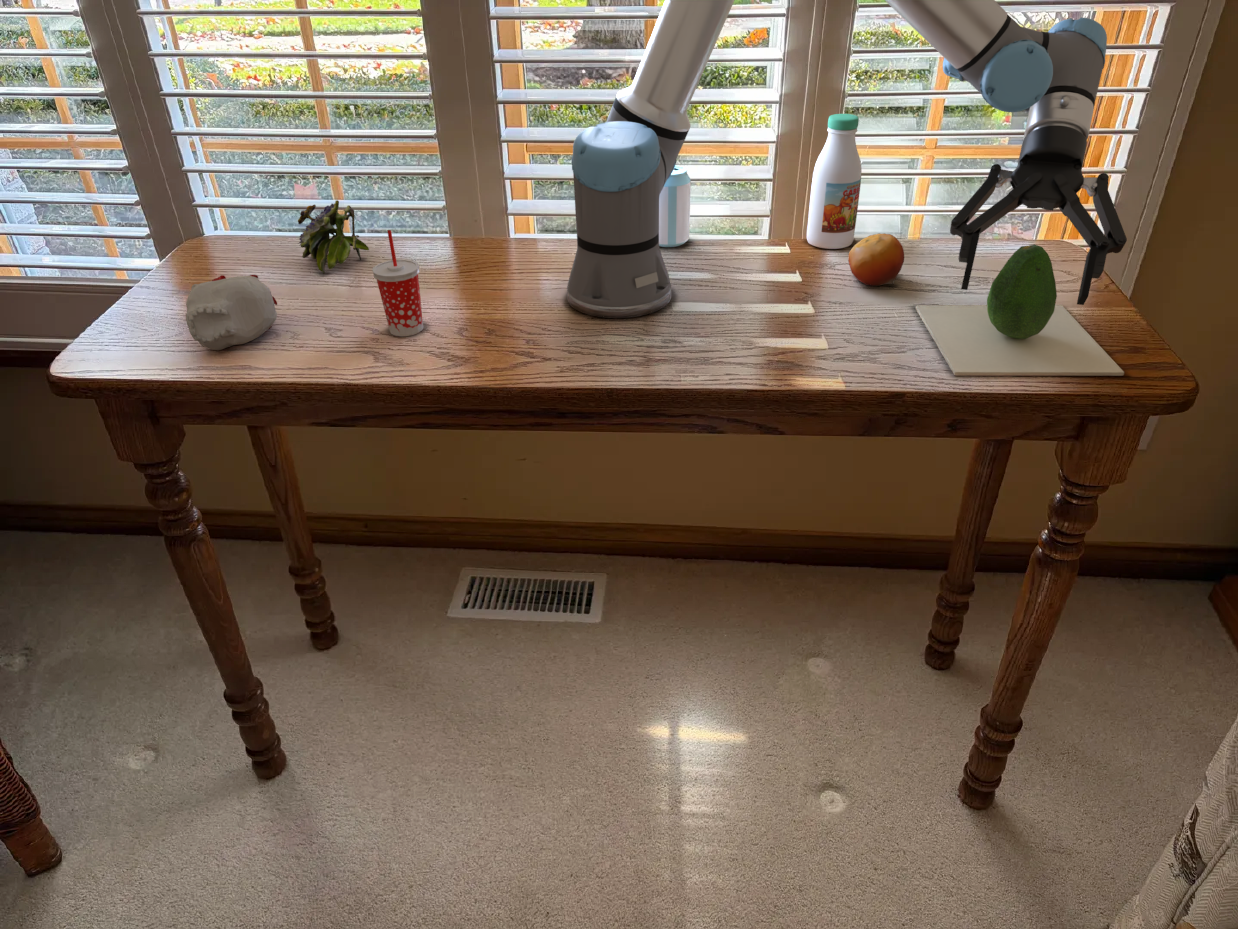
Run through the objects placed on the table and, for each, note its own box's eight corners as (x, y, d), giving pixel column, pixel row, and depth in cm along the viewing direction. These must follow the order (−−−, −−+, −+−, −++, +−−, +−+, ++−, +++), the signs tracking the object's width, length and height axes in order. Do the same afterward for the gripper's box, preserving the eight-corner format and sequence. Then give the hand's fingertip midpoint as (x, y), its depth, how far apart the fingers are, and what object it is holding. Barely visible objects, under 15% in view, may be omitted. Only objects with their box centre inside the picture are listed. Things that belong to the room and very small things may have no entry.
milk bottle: (801, 247, 143) (813, 120, 132) (811, 232, 149) (823, 109, 137) (848, 252, 140) (865, 123, 129) (856, 236, 146) (873, 112, 135)
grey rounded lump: (198, 363, 111) (199, 331, 124) (288, 345, 115) (281, 316, 127) (175, 295, 107) (179, 269, 120) (270, 279, 111) (264, 255, 123)
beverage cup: (428, 336, 118) (412, 236, 110) (382, 340, 117) (363, 240, 109) (429, 317, 123) (413, 220, 115) (385, 321, 122) (366, 224, 114)
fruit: (917, 282, 125) (894, 235, 122) (865, 306, 129) (842, 261, 126) (912, 262, 132) (891, 217, 129) (863, 285, 135) (841, 241, 132)
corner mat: (954, 375, 105) (955, 372, 105) (915, 308, 122) (915, 305, 121) (1123, 375, 104) (1124, 372, 104) (1060, 307, 120) (1061, 304, 120)
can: (645, 235, 149) (645, 164, 142) (686, 233, 150) (687, 162, 143) (650, 249, 143) (649, 176, 137) (692, 247, 144) (693, 174, 137)
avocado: (1016, 319, 117) (1039, 232, 110) (1058, 343, 110) (1084, 252, 104) (966, 328, 115) (986, 240, 108) (1006, 353, 108) (1029, 261, 102)
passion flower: (324, 289, 146) (312, 220, 147) (385, 276, 145) (372, 206, 146) (292, 274, 135) (279, 199, 135) (357, 260, 134) (344, 185, 134)
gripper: (955, 115, 111) (920, 266, 108) (1174, 129, 103) (1143, 294, 100) (951, 147, 118) (918, 291, 115) (1156, 163, 110) (1126, 318, 107)
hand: (1022, 293), depth 108 cm, fingers open, 13 cm apart
